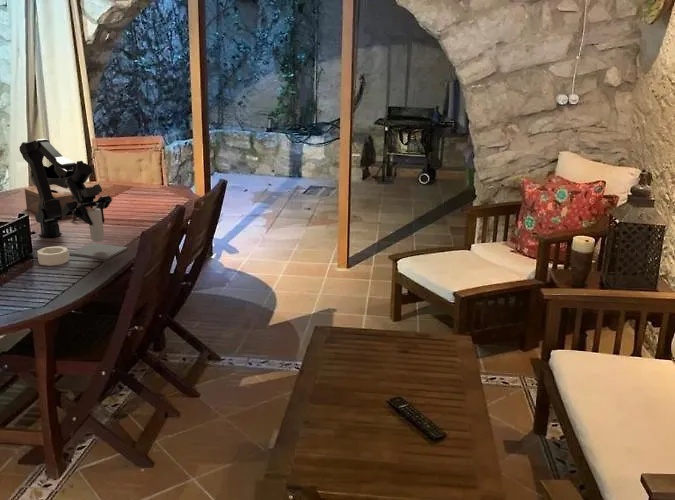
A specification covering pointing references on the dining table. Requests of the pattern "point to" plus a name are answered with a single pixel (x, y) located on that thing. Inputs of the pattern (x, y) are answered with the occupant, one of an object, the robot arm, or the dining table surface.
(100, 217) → the beverage can
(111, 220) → the dining table surface
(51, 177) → the coal bowl
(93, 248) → the rubber mat
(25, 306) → the dining table surface
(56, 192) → the tissue box cover
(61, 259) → the holder ring
